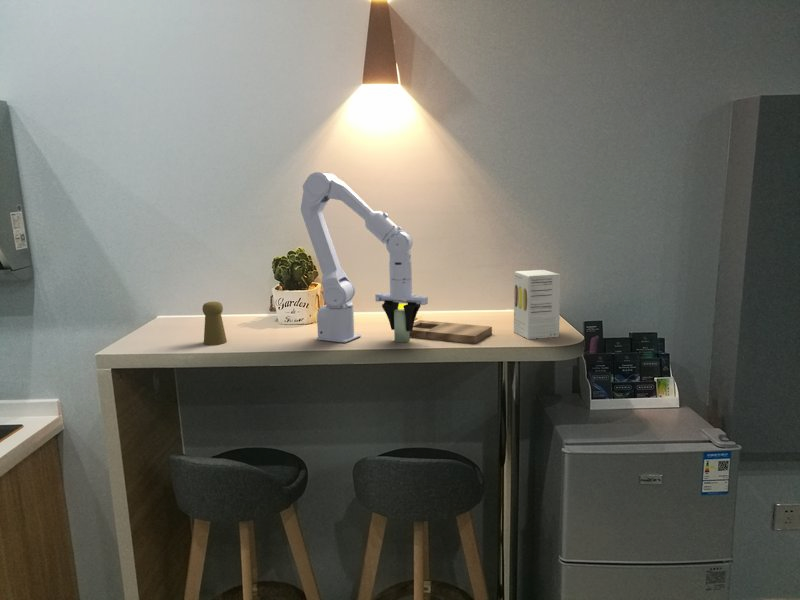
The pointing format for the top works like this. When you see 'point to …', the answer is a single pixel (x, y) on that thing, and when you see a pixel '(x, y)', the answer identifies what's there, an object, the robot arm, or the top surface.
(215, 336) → the cork
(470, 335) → the walnut board
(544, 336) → the supplement box
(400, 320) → the peg
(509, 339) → the top surface
